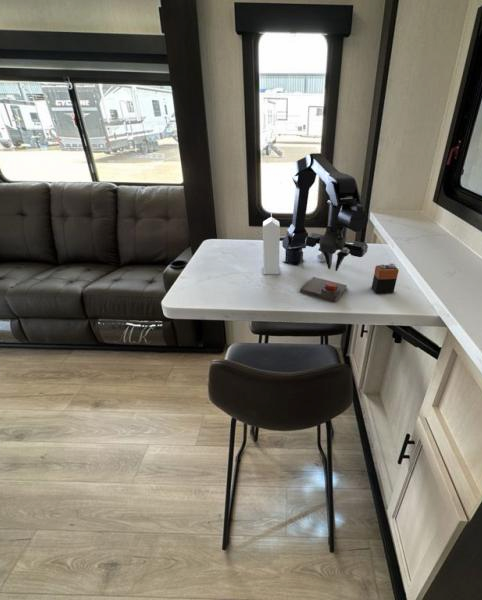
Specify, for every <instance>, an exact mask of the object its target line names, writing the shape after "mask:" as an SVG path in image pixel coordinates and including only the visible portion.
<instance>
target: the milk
mask: <svg viewBox="0 0 482 600" xmlns="http://www.w3.org/2000/svg"><path fill="white" fill-rule="evenodd" d="M280 226H281V225H280V221H279V220H277V219H276V218H274V217H273V216H272V214H270V217H268V218H267V219H265V220H263V221H262V240H263V241H262V251H263V255H262V257H263V259H262V260H263V262H262V263H263V275H280V244H281V243H280V241H281V239H280V238H281V237H280V236H281V234H280V231H281V227H280Z"/></svg>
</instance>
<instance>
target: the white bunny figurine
mask: <svg viewBox="0 0 482 600" xmlns="http://www.w3.org/2000/svg"><path fill="white" fill-rule="evenodd" d="M316 258H317V260H319V261H320V262H322V263H323V262H326V259H325V256H324V254H323V253H322V252H321V251H319V252H317V253H316Z"/></svg>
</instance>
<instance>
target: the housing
mask: <svg viewBox="0 0 482 600" xmlns="http://www.w3.org/2000/svg"><path fill="white" fill-rule="evenodd" d="M326 282H333V281H332V280H328V279H325V278H320V277H316V276H312V278H310V280H308V281H307V282H305V284H304V285H302V286H301V287H300V288H299V293H302V294H305V295H309V296H312V297H316V298H319V299H323V300H326V301H329V302H333V303H337V301H338V299H340V297H341V296H342V295H343V294H344V293H345V291H346V290H347V287H348V285H347V284H344V283H340V282H335V281H334V282H335V283H336V284H337V286H336V290H327V289H326V288H325V287H326Z"/></svg>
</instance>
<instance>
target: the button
mask: <svg viewBox="0 0 482 600" xmlns="http://www.w3.org/2000/svg"><path fill="white" fill-rule="evenodd" d="M336 283H337V282H336ZM336 283H335V281H332V282H326V287H325V288H326V289H327V290H336V286H337V284H336Z"/></svg>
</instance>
